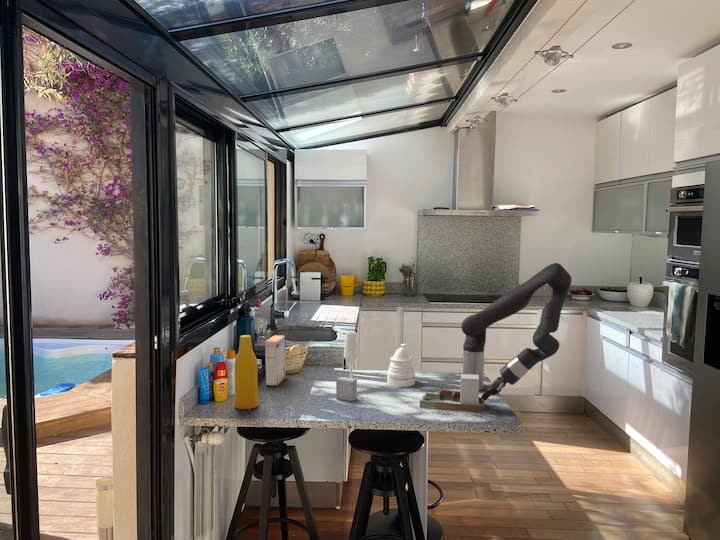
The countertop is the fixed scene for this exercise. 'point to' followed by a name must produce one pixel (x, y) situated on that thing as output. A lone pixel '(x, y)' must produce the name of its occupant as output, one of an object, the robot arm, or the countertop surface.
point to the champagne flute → (351, 349)
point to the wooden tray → (451, 397)
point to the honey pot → (401, 369)
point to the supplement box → (469, 389)
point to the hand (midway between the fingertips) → (483, 398)
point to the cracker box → (275, 360)
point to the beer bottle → (246, 375)
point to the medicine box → (346, 389)
